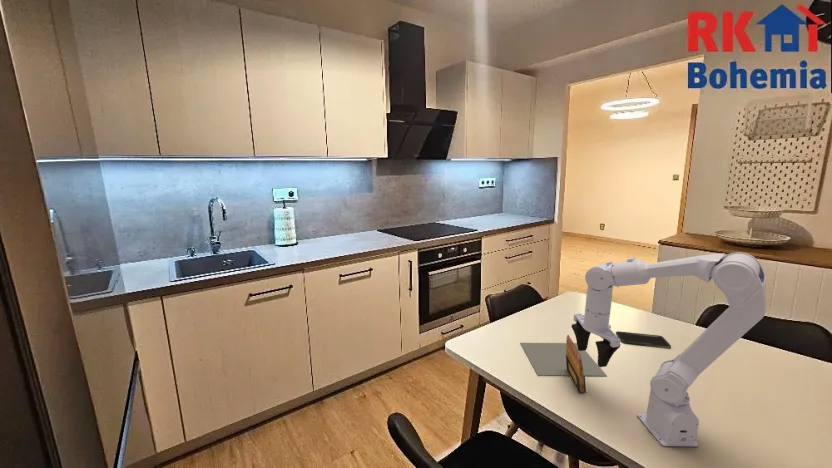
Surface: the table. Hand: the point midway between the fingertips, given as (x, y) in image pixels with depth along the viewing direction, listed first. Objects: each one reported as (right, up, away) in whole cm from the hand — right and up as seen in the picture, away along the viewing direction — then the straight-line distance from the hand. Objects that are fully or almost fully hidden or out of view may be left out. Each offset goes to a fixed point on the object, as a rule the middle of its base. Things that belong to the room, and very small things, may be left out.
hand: (591, 357), depth 91 cm
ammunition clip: (-1, -9, +7) cm, 11 cm away
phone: (+32, -5, +29) cm, 43 cm away
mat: (-1, -7, +18) cm, 19 cm away
